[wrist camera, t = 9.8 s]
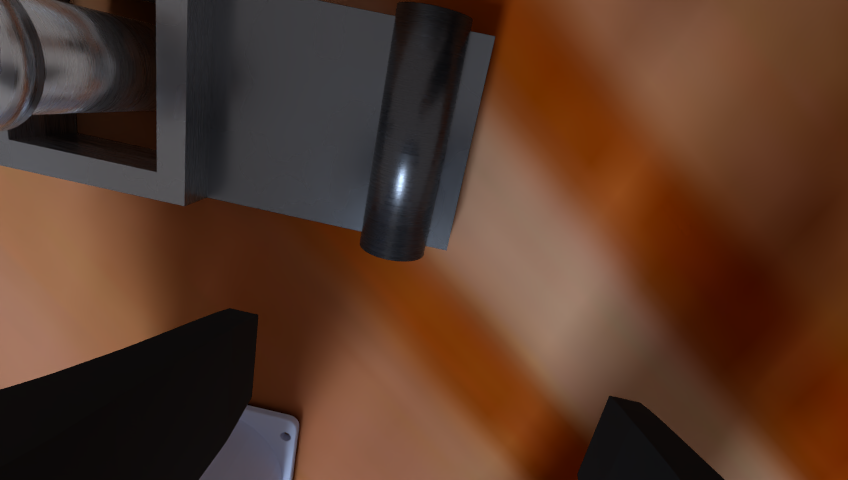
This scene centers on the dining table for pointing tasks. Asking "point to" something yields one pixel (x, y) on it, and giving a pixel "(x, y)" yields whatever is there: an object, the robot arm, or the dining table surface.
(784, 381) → the dining table surface
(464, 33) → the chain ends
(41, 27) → the steel pin
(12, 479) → the robot arm
